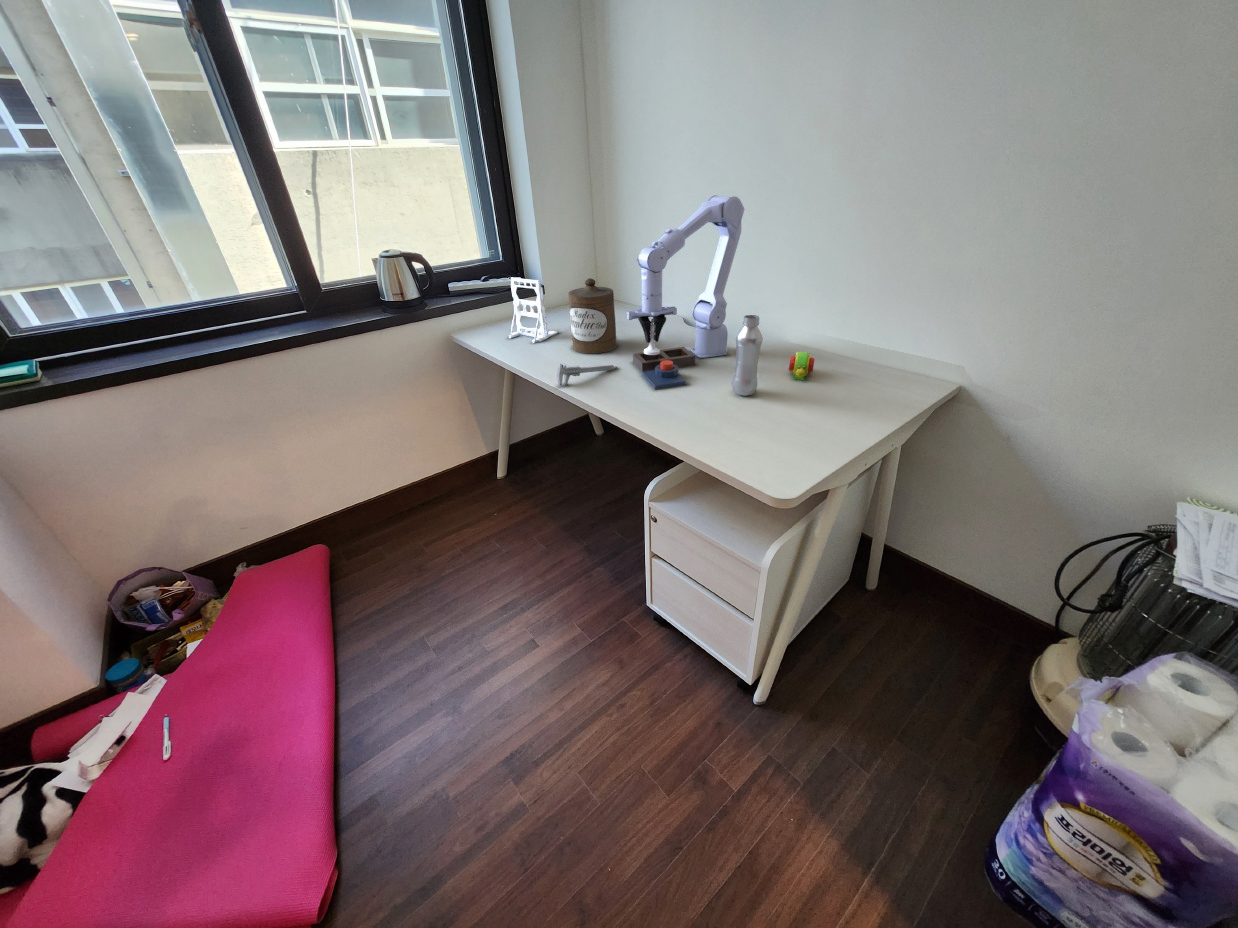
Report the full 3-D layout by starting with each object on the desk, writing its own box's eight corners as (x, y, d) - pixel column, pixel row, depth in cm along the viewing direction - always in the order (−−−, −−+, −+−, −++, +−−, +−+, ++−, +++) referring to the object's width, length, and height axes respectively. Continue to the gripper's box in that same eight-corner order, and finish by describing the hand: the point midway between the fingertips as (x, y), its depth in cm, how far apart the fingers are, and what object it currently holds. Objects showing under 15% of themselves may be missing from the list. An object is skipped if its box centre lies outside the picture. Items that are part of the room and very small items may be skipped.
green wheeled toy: (786, 381, 132) (790, 358, 129) (790, 357, 148) (794, 336, 144) (811, 384, 130) (815, 360, 127) (812, 359, 146) (816, 338, 142)
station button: (670, 366, 138) (670, 359, 137) (675, 370, 135) (675, 363, 134) (658, 367, 138) (658, 361, 137) (662, 372, 135) (663, 365, 134)
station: (672, 371, 142) (672, 361, 140) (686, 385, 133) (687, 374, 131) (642, 375, 140) (642, 365, 138) (654, 389, 131) (655, 379, 129)
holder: (683, 355, 153) (683, 346, 151) (695, 365, 145) (695, 356, 144) (633, 362, 149) (632, 353, 147) (642, 373, 142) (642, 363, 140)
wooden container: (565, 351, 160) (558, 282, 148) (584, 338, 172) (579, 273, 160) (606, 356, 155) (602, 285, 143) (623, 342, 167) (620, 275, 155)
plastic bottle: (742, 400, 123) (750, 322, 112) (725, 391, 128) (732, 316, 117) (761, 395, 125) (771, 318, 115) (744, 386, 130) (752, 312, 120)
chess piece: (661, 350, 145) (662, 317, 140) (657, 355, 141) (658, 321, 136) (646, 349, 147) (646, 316, 141) (641, 354, 143) (641, 320, 137)
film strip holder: (561, 332, 178) (555, 276, 168) (536, 343, 168) (528, 284, 158) (531, 328, 185) (524, 273, 174) (506, 338, 175) (497, 280, 165)
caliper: (560, 387, 135) (558, 365, 131) (558, 386, 135) (556, 364, 132) (617, 368, 145) (616, 348, 142) (614, 367, 146) (614, 347, 143)
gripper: (631, 299, 130) (632, 348, 137) (681, 294, 133) (679, 342, 141) (624, 294, 136) (625, 341, 143) (672, 289, 139) (671, 335, 146)
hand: (651, 341), depth 142 cm, fingers closed on chess piece
